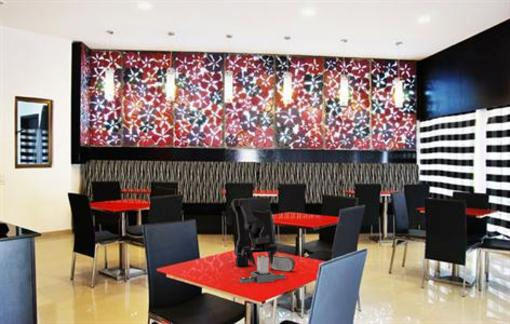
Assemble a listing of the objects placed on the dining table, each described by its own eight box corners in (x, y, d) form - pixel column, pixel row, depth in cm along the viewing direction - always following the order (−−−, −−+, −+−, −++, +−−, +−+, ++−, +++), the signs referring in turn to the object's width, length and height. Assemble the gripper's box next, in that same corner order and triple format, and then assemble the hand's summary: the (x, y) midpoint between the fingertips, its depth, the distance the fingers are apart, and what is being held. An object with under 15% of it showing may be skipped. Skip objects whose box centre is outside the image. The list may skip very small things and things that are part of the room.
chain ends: (237, 279, 228) (237, 272, 228) (280, 275, 236) (280, 269, 236) (243, 284, 219) (243, 277, 219) (287, 280, 228) (287, 273, 228)
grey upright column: (257, 279, 229) (257, 254, 229) (265, 278, 231) (265, 254, 231) (260, 281, 225) (260, 256, 225) (268, 280, 227) (268, 256, 226)
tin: (295, 271, 245) (295, 256, 245) (293, 272, 242) (293, 257, 242) (270, 268, 252) (270, 253, 252) (268, 270, 249) (268, 255, 249)
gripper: (242, 231, 228) (250, 257, 218) (276, 229, 235) (285, 254, 224) (238, 244, 236) (244, 269, 225) (270, 241, 242) (278, 266, 232)
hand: (263, 264), depth 227 cm, fingers open, 9 cm apart
